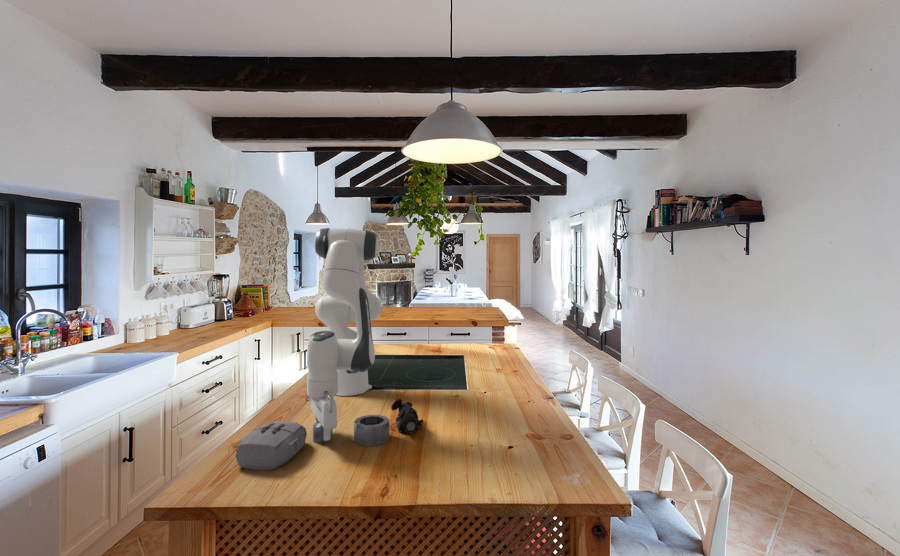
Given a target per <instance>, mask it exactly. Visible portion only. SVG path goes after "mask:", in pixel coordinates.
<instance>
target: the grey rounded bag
mask: <svg viewBox="0 0 900 556" xmlns="http://www.w3.org/2000/svg"><path fill="white" fill-rule="evenodd" d="M307 432H308V431H307V430H306V427H304V426H303V425H302V424H300V423H298V422H296V421H290V420H281V421H280V420H278V421H273V422H272V421H271V422H269V423H267V424H266V423H265V424H263V425H261V426H259V427H257V428H254V429H253V431H251V432H250V433H248V434H246V435H245V436H244V437H242V438H241V439H240V440H239V444H238V447H237V448H236V453H235V458H236V463H237V464H238V466H239V467H240V468H243V469H246V470H254V471H270V470H275V469H277V468H279V467H281V466H283V465H285V464H286V463H287V462H289V461H290V460H291V459H293V458H294V457H295V456H296V455H297V454H298V452H299V451H301V449H302V448H303V447H304V445H305V443H306V438H307V435H308V433H307Z"/></svg>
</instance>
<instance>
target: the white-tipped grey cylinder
mask: <svg viewBox="0 0 900 556" xmlns="http://www.w3.org/2000/svg"><path fill="white" fill-rule="evenodd" d="M333 429H334V428H333ZM333 429H332V430H331V434H330V440H327V441H325V440H324V439H323V433H324V429H323V427H322V425H321V424H320V422H317V423H316V422H315V423H313V425H312V443H314V444H316V443H318V444H317V445H324V443H325V444H327V443H330V442H333V435H334V433H333V431H334V430H333Z"/></svg>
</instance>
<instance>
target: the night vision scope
mask: <svg viewBox="0 0 900 556" xmlns="http://www.w3.org/2000/svg"><path fill="white" fill-rule="evenodd" d="M390 409H391V411H397V410H398V414H397V417H396V418H395V424H396V427H397V431H398V432H399V433H401V434H403V433H404V432H406V433H408V434H413V433H415V432H419V428H422V427H423V422H424V419H420V420H419V415H418V411H417V410H416V409H415V408H413V403H412V402H410V401H406V402H403V400H402V398H398V399H396V400H395V401H394V402H393V403H392V404H391V407H390Z"/></svg>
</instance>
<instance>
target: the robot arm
mask: <svg viewBox="0 0 900 556" xmlns="http://www.w3.org/2000/svg"><path fill="white" fill-rule="evenodd" d="M313 247H314V250H315V253H316V254H317V256H319V257H320V258H323V259H325V261H324V268H323V273H322V274H323V277H322V287H323V289H324V292H325V293H327V295H324V296H320V297H319V298H318V299H317V301H316V303H315V307H314V311H315V315H316V317H317V318H318V320H319V321H321V322H322V323H324V325H326V326H327V328H328V329H329V330H330V331H329V330H321V331H316V332H313V333H312V334H310V336H309V338H308V341H307V348H306V349H307V350H306V365H307V371H308V372H307V376H306V382H305V384H306V395H307V397H308V400H309V407H310V408H309V409H310V411H311V412H312V413H313V415H314V419H315V423H317V422H320V424H321V425H322V427H323V429H324V433H323V439H324V440H325V441H327V440H330V434H331V430H332V429H336V428H337V426H338V410H337V403H336V400H335V399H334V398H335V396H339V397H341V396H343V397H346V396H347V397H349V396H350V397H351V396H357V395H362V394H364V393H366V392H367V391H368V390H370V389H372V387H373V385H371V384H369V374H368V373H369V372H368V370H369V369H371V368H372V366H373V365H374V363H375V359H376V353H375V347H374V346H375V345H374V341H373V334H372V323H371V321H374V320H377V319H378V318H379V317H380V315H381V312H382V304H381V301H380V299H379V297H378V296H376V295H374V294H373V292H371V291H370V290H369V289H368V287H367V285H366V283H365V261H371V260H373V259H374V258H376V256H377V254H378V252H379V248H380V244H379V239H378V236H377V234H376V233H375V232H374V231H370V230H361V229H357V228H356V229H355V228H329V227H326V228H320V229H319V230H318V231H317V232H316V235H315V237H314V239H313ZM348 323H355V326H356V330H353V329H352V328H350V327H348V325H347V324H348Z"/></svg>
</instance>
